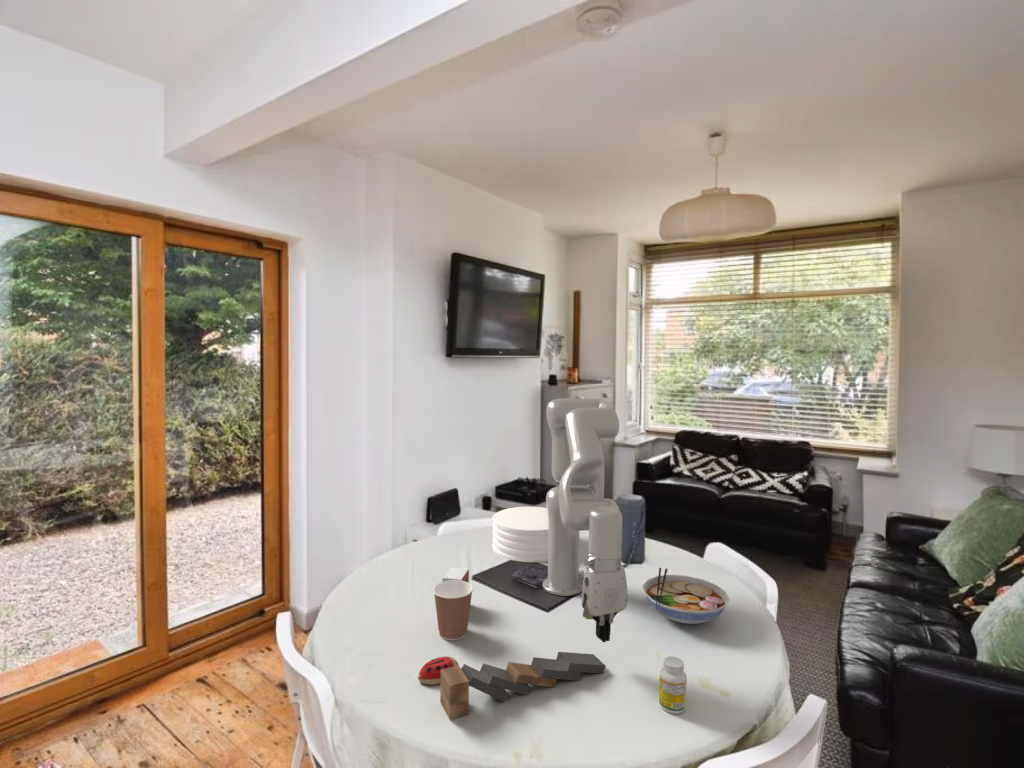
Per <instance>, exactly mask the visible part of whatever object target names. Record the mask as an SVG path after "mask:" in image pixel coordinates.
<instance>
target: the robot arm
mask: <svg viewBox="0 0 1024 768" xmlns="http://www.w3.org/2000/svg"><path fill="white" fill-rule="evenodd" d="M545 413H546V414H545V415H546V419H547V420H546V421H547V425H548V427H549V430H550V434H551V441H552V444H551V476H552V479H553V480H554V481H555V482H557V483H559V485H558V486H554V487H552V488H550V489H549V490H548V491H547V492H546V496H545V504H546V508H547V512H548V525H549V534H548V561H547V578H545V579H544V580H543V581H542V587H543V589H544V591H545V592H547V593H549V594H552V595H555V596H562V597H564V596H565V597H569V596H576V595H577V594H580V593H581V607H582V608H583V612H582V617H583V618H584V619H586V620H594V621H595V635H596V638H598V639H599V640H600V641H601V642H602V643H606V642H610V641H611V640H610V639H611V629H612V628H611V625H612V624H613V623H614V618H615V617H616V615H617V614H619V613H621V612H623V611H624V610H625V609H627V607H628V583H627V582H628V581H627V576H626V571H625V566H623V565H622V552H623V551H622V547H623V546H622V544H623V543H622V541H623V515H622V512H621V511H620V507H619V505H618V504H617V503H616V501H614V499H612V498H605V497H604V496H605V464H604V463H605V462H604V453H603V449H602V448H603V447H602V444H601V443H602V442H601V439H602V440H603V439H605V440H606V439H615V438H616V437H617V436H618V434H619V431H620V420H619V417H618V414H617V412H616V411H615V409H614V408H613V407H612V406H611V405H610V404H609V403H608V402H607V401H606V400H604V399H602V398H574V397H573V398H572V397H571V398H569V397H568V398H556V399H552V400H550V401H549V402H548V404H547V405H546V412H545ZM576 483H577V484H587V485H572V484H576ZM580 531H588V555H587V559H585V560H584V561H583V565H584V566H585V567H586V568H585V571H584V570H583V569H582V570H580Z"/></svg>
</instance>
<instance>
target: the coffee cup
mask: <svg viewBox="0 0 1024 768" xmlns="http://www.w3.org/2000/svg"><path fill="white" fill-rule="evenodd" d="M473 592H474V586H473V585H472V584H471V583H470V582H469V583H468V582H465V581H460V580H450V581H444V582H442V581H441V582H439V583H437V584H436V585H434V586H433V588H432V593H433V594H434V601H435V602H434V603H435V611H436V618H437V619H436V620H437V627H438V632H439V636H440V638H442V639H444V640H447V641H458V640H461V639H463V638H464V637H465V636H466V635H467V631H468V625H469V619H470V612H471V603H472V602H471V601H472V596H473V595H472V594H473Z"/></svg>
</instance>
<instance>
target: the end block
mask: <svg viewBox="0 0 1024 768" xmlns="http://www.w3.org/2000/svg"><path fill="white" fill-rule="evenodd" d="M461 668H462V667H461V666H460V665H459V664H458V666H454V667H450V668H446V669H442V670H441V681H440V684H439V686H440V695H439V696H440V705H441V706H442V708H443V710H444V712H445V714H446V716H447V717H448V720H451V721H452V720H454V719H458V718H461V717H464V716H469V713H470V712H469V711H470V709H469V708H470V705H469V704H470V700H469V699H470V692H469V691H470V686H469V681H468V679H467V677H466V676H465V674H464V673H463V671H462V670H461Z"/></svg>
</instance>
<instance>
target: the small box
mask: <svg viewBox="0 0 1024 768" xmlns="http://www.w3.org/2000/svg"><path fill="white" fill-rule="evenodd" d="M441 579H442V581H441V582H444V581H450V580H460V581H465V582H468V583H470V569H469V568H464V567H463V568H461V567H450V568H449V570H448V571H447V573H446V574H445V575H444V576H443V577H442V578H441Z"/></svg>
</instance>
